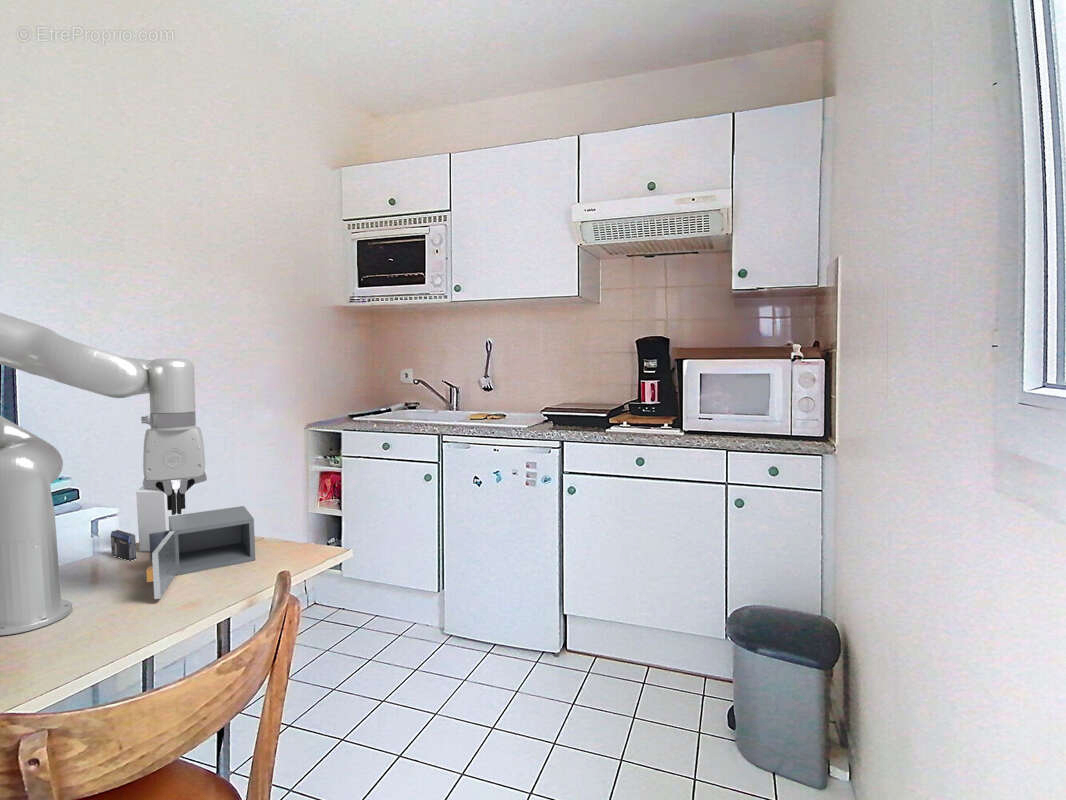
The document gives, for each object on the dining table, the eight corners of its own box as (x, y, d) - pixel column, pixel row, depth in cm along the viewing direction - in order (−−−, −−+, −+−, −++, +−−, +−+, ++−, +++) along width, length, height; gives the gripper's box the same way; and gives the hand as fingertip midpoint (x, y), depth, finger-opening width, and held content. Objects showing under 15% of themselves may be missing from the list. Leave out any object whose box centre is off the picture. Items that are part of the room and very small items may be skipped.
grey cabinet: (152, 580, 120) (149, 534, 119) (150, 561, 131) (148, 519, 131) (255, 560, 132) (253, 518, 131) (245, 544, 143) (243, 505, 142)
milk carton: (139, 552, 138) (135, 475, 136) (159, 542, 145) (155, 469, 144) (167, 552, 138) (163, 475, 136) (186, 543, 145) (182, 469, 143)
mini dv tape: (111, 555, 136) (110, 531, 135) (118, 554, 137) (117, 529, 136) (129, 561, 131) (128, 536, 131) (136, 559, 133) (135, 534, 132)
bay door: (165, 573, 121) (163, 532, 121) (177, 571, 122) (175, 530, 122) (147, 600, 107) (144, 554, 107) (160, 598, 108) (158, 552, 108)
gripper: (124, 425, 104) (128, 522, 105) (217, 421, 112) (220, 512, 113) (129, 421, 110) (132, 513, 111) (216, 418, 118) (219, 504, 119)
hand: (176, 512), depth 112 cm, fingers closed
